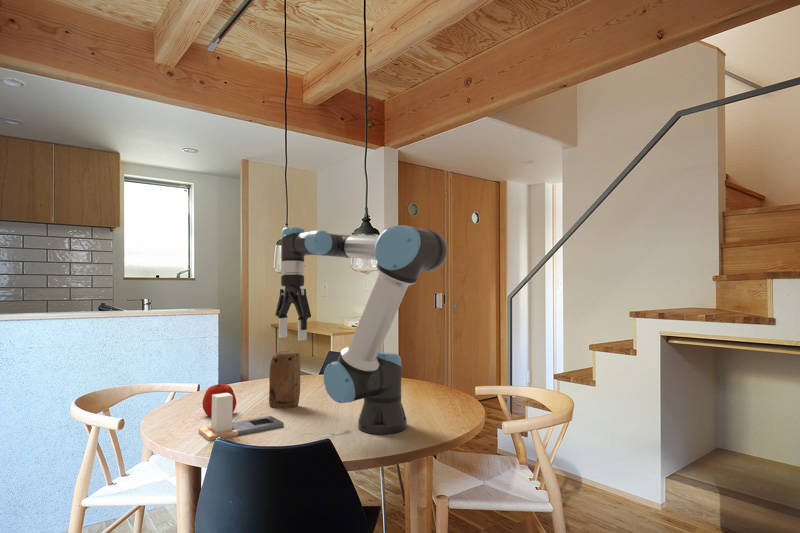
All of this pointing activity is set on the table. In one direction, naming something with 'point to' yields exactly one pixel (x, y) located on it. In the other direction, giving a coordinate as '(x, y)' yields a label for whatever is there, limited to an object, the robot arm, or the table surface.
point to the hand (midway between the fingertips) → (292, 338)
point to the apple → (216, 390)
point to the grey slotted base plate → (243, 427)
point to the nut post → (221, 412)
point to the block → (284, 380)
